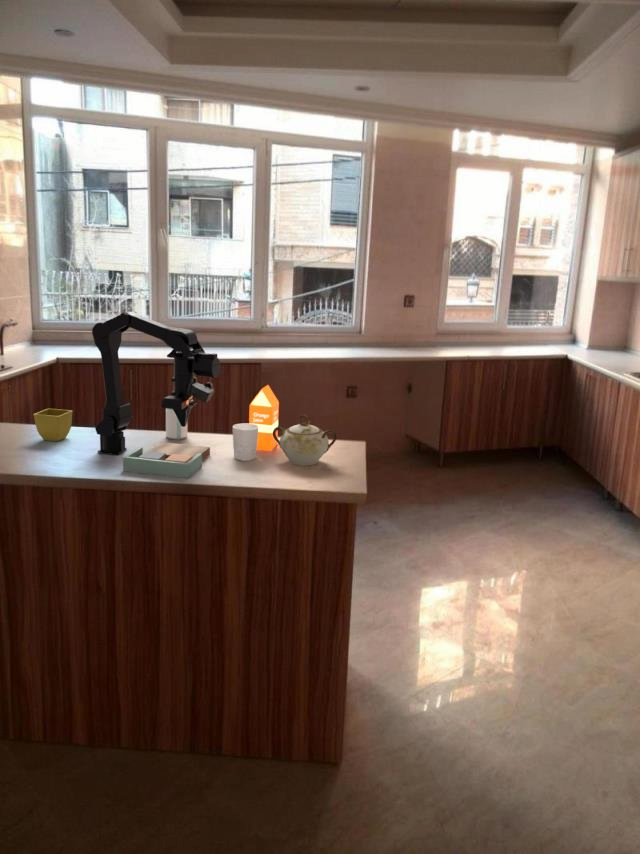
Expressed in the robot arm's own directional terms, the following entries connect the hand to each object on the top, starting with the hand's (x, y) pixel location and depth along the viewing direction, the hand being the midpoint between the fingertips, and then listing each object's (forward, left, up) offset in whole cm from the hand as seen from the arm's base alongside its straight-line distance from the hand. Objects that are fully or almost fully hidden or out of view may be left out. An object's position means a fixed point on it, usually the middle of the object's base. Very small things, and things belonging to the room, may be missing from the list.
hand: (183, 426), depth 194 cm
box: (-3, -7, -11) cm, 14 cm away
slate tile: (-7, -6, -11) cm, 14 cm away
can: (-12, +25, -11) cm, 30 cm away
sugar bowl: (+34, +13, -11) cm, 38 cm away
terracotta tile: (+1, -5, -11) cm, 12 cm away
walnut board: (-3, +4, -11) cm, 12 cm away
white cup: (+16, +11, -11) cm, 22 cm away
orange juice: (+18, +25, -11) cm, 32 cm away
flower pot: (-47, +9, -11) cm, 49 cm away
